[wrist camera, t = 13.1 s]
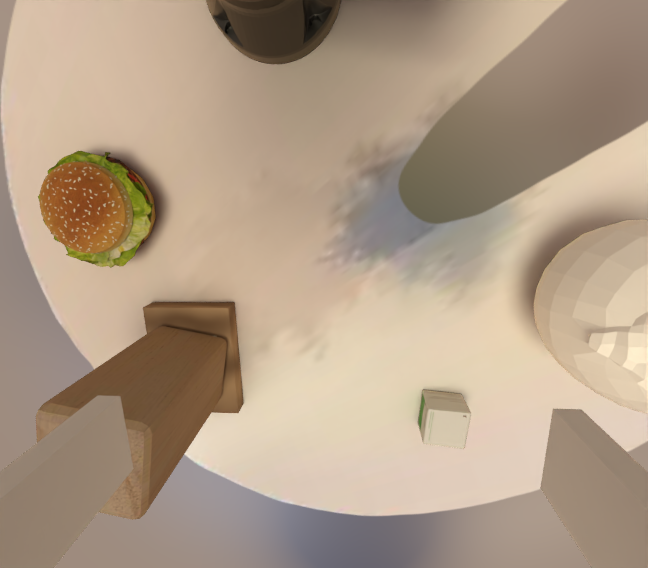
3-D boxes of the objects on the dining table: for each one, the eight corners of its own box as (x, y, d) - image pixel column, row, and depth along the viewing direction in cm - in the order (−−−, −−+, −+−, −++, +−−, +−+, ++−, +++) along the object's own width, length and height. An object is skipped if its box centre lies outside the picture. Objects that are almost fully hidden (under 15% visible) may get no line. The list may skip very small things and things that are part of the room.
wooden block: (155, 386, 51) (33, 503, 31) (159, 322, 48) (28, 407, 29) (222, 399, 50) (141, 527, 31) (230, 336, 48) (146, 432, 28)
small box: (421, 388, 50) (428, 408, 46) (462, 392, 50) (473, 413, 45) (416, 422, 52) (422, 445, 47) (455, 427, 51) (466, 450, 47)
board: (153, 302, 50) (142, 307, 48) (234, 302, 49) (228, 308, 47) (167, 401, 54) (158, 411, 52) (243, 403, 53) (237, 413, 51)
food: (115, 279, 50) (72, 294, 42) (49, 193, 48) (-9, 193, 40) (188, 227, 47) (156, 233, 40) (122, 133, 45) (75, 121, 37)
